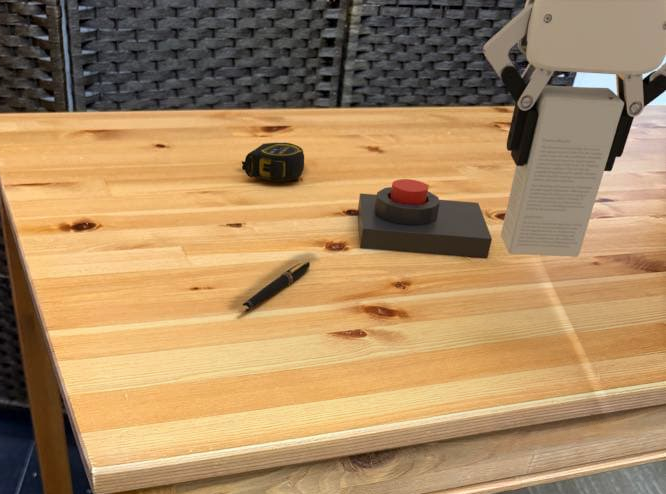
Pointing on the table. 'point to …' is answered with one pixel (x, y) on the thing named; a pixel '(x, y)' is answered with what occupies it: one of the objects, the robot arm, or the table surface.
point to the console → (422, 226)
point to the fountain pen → (276, 285)
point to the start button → (409, 192)
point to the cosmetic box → (561, 171)
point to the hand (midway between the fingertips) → (560, 160)
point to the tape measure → (275, 162)
